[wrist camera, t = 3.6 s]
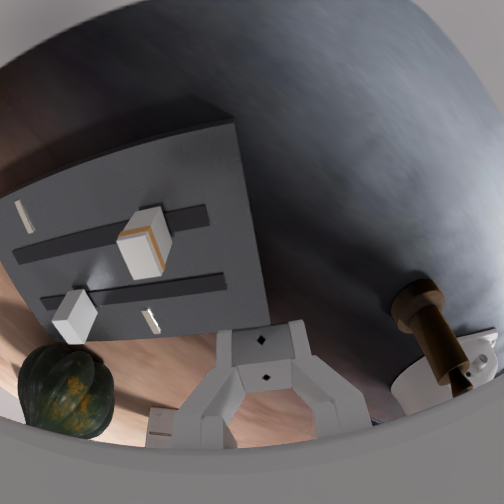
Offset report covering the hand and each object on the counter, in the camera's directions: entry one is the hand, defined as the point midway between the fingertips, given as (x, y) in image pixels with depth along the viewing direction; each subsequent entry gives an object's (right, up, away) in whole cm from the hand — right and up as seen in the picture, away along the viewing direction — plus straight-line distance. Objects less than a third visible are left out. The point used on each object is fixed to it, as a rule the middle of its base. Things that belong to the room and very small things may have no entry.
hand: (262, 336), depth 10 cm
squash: (-26, -13, +26) cm, 39 cm away
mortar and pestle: (+19, -3, +21) cm, 28 cm away
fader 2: (-7, +5, +10) cm, 14 cm away
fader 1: (-16, -2, +14) cm, 22 cm away
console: (-13, +3, +15) cm, 20 cm away
